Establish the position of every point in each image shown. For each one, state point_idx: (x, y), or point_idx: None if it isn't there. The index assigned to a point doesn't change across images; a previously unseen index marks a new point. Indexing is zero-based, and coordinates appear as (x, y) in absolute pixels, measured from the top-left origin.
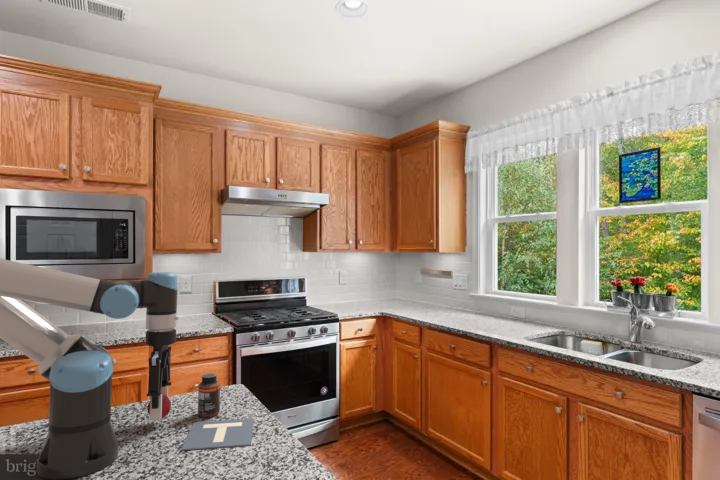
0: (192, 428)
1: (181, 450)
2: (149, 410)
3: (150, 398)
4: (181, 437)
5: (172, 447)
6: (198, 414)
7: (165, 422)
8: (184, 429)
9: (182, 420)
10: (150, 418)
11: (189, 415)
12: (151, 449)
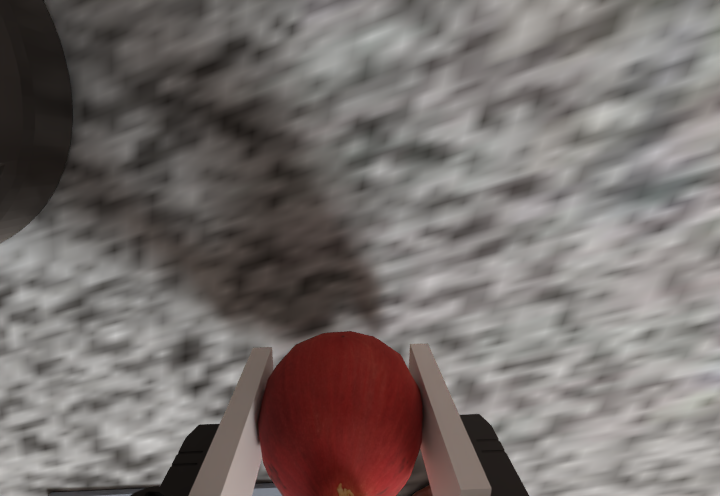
0: (267, 493)
1: (50, 493)
2: (278, 368)
3: (198, 475)
4: None
5: (82, 454)
6: (428, 489)
7: None
8: None
9: None
10: (250, 359)
11: None
12: (56, 379)
